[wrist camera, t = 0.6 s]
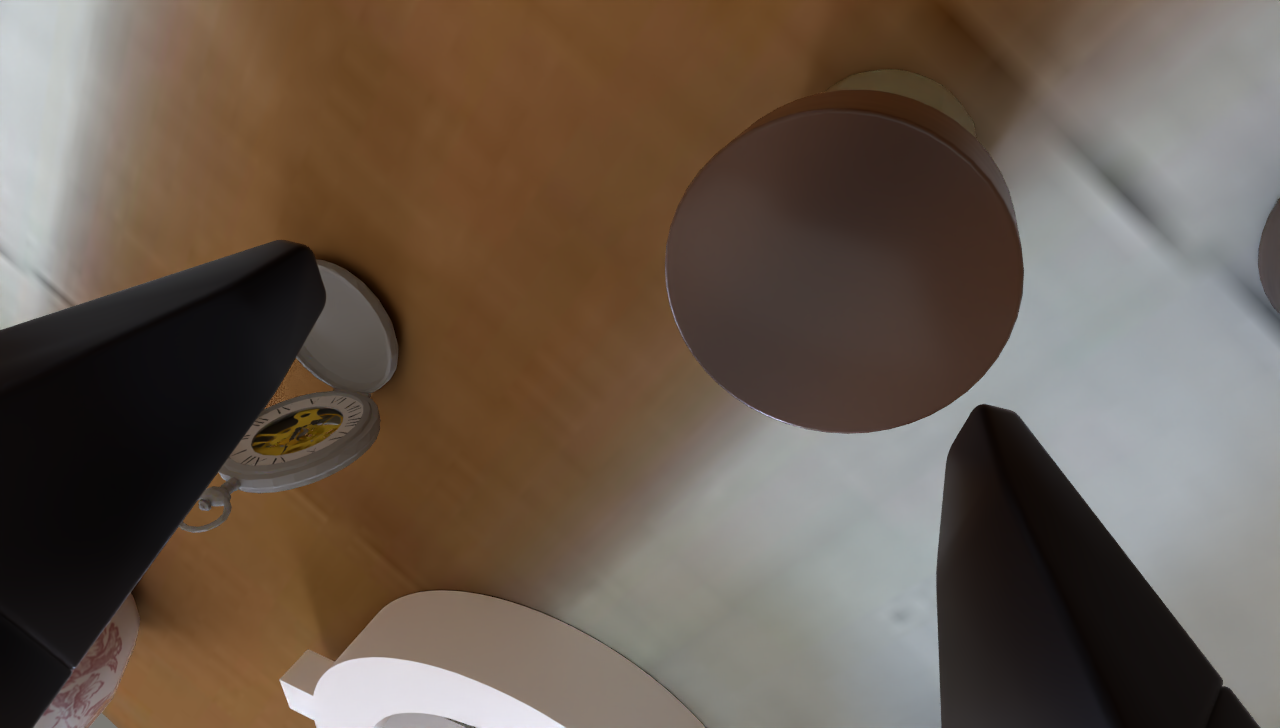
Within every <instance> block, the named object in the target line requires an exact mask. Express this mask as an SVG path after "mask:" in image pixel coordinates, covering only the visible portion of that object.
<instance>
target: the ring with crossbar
mask: <svg viewBox="0 0 1280 728" xmlns="http://www.w3.org/2000/svg"><path fill="white" fill-rule="evenodd" d="M279 680H280V682H281V685H282V688H283V691H284V693H285V696H286V699H287V701H288V704H289V707H290V708H291V709H293V710H295V711H297V712H299V713H301V714H303V715H305V716H307V717H309V718H311V719H313V720H315V724H316V728H465V727H463V726H461V725H459V724H457V723H454V722H452V721H450V720H448V719H446V718H449V719H453V720H456V721H459V722H463V723H465V724H468V725H471V726H474V727H476V728H705V727H704V725H703V724H702V723H701V722H700V721H699V720H698V719H697V718H696V717H695V716H694V715H693V714H692V713H691V712H690V711H689V710H688V709H687V708H686V707H685V706H684V705H683V704H682V703H681V702H680V701H679V700H678V699H677V698H676V697H675V696H673V695H672V694H671V693H670V692H669V691H668V690H667V689H666V688H664V687H663V686H662V685H661V684H659V683H658V682H657V681H656V680H655V679H653V678H652V677H651V676H650V675H648V674H647V673H646V672H644V671H643V670H641V669H640V668H639V667H637V666H636V665H635V664H633V663H632V662H630V661H629V660H627V659H626V658H625V657H623V656H622V655H620V654H619V653H617V652H615V651H614V650H612V649H611V648H609V647H608V646H606V645H604V644H603V643H601V642H599V641H598V640H596V639H594V638H592V637H591V636H589V635H587V634H585V633H583V632H581V631H579V630H578V629H576V628H574V627H572V626H570V625H568V624H566V623H563V622H561V621H559V620H557V619H555V618H553V617H550V616H548V615H545V614H543V613H541V612H538V611H536V610H533V609H530V608H528V607H525V606H522V605H519V604H516V603H513V602H510V601H506V600H502V599H499V598H495V597H491V596H486V595H481V594H476V593H469V592H462V591H446V590H437V591H425V592H418V593H413V594H409V595H406V596H403V597H400V598H398V599H396V600H394V601H392V602H391V603H389V604H388V605H386V606H385V607H384V608H383V609H381V610H380V611H379V612H378V614H377V615H376V616H375V617H374V618H373V619H372V620H371V622H370V623H369V624H368V625H367V626H366V627H365V628H364V629H363V631H362V632H361V633H360V634H359V635H358V636H357V637H356V638H355V640H354V641H353V642H352V643H351V644H350V645H349V646H348V647H347V649H346V650H345V651H344V652H343V653H342V654H341V655H340V656H339V658H338V659H337V660H336V661H333V660H330V659H328V658H326V657H324V656H322V655H320V654H318V653H315V652H313V651H311V650H309V649H308V650H307V651H306V652H305V653H304V654H303V655H302V656H301V657H300V658H299V659H298V660H297V661H296V662H295V663H294V665H293V666H292V667H291V668H290V669H289V670H288V671H287V672H286V673H285V674H284V675H283V676H282V677H281V678H280V679H279ZM444 717H445V718H444Z"/></svg>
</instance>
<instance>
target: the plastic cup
mask: <svg viewBox="0 0 1280 728" xmlns="http://www.w3.org/2000/svg"><path fill="white" fill-rule="evenodd" d="M838 90H874V91H882V92H890V93H893V94H897V95H901V96H905V97H908V98H912V99H915V100H917V101H919V102H922V103H924V104H926V105H929V106H931V107H934V108H935V109H937V110H939V111H940V112H942V113H944V114H945V115H947V116H949V117H950V118H952V119H954V120H955V121H956V122H958V123H959V124H960V125H961V126H962V127H964V128H965V129H966V130H967V131H968V132H970V133H971V134H972V135H973V136H974V137H975V138H976V139H977V137H976V131H975V126H974V122H973V120H972V119H971V118H970V116H969V115H968V113H967V112H966V110H965V109H964V107H963V106H962V104H961V103H960V102H959V101H958V100H957V98H956V97H955V96H954V95H953V94H952V93H951V92H949V91H948V90H947V89H946V88H945V87H944V86H943V85H940V84H939V83H937V82H935V81H934V80H932V79H930V78H927V77H925V76H922V75H920V74H917V73H913V72H909V71H903V70H899V69H898V70H895V69H884V70H874V71H867V72H863V73H860V74H853V75H850V76H849V77H847V78H845V79H844V80H841V81H839V82H838V83H836V84H834V85H833V86H831V87H829V88H828V89H827V90H825V91H824V92H831V91H838ZM824 92H822V93H824Z"/></svg>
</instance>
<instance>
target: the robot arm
mask: <svg viewBox="0 0 1280 728" xmlns="http://www.w3.org/2000/svg"><path fill="white" fill-rule="evenodd" d="M325 303H326V290H325V287H324V284H323V281H322V277H321V274H320V271H319V268H318V265H317V262H316V259H315V256H314V253H313V252H312V250H311V249H310V248H309V247H307V246H306V245H303V244H299V243H295V242H291V241H286V240H276V241H273V242H270V243H267V244H264V245H260V246H257V247H254V248H251V249H248V250H245V251H242V252H239V253H236V254H233V255H230V256H227V257H224V258H221V259H218V260H214V261H211V262H208V263H205V264H202V265H199V266H196V267H193V268H190V269H187V270H184V271H181V272H178V273H175V274H171V275H168V276H165V277H162V278H159V279H156V280H153V281H150V282H147V283H144V284H141V285H138V286H135V287H132V288H128V289H125V290H122V291H119V292H116V293H113V294H110V295H107V296H104V297H101V298H98V299H95V300H92V301H89V302H86V303H82V304H79V305H76V306H73V307H70V308H67V309H64V310H61V311H58V312H55V313H52V314H49V315H46V316H43V317H39V318H36V319H33V320H30V321H27V322H24V323H21V324H18V325H15V326H12V327H9V328H6V329H3V330H0V728H34V726H35V725H36V723H37V722H38V721H39V719H40V718H41V717H42V715H43V714H44V712H45V711H46V710H47V708H48V707H49V705H50V704H51V703H52V701H53V700H54V699H55V697H56V696H57V694H58V693H59V692H60V690H61V689H62V688H63V686H64V685H65V683H66V682H67V681H68V679H69V678H70V676H71V675H72V674H73V671H72V670H74V669H75V668H76V667H77V666H78V665H79V663H80V662H81V661H82V659H83V658H84V656H85V655H86V654H87V652H88V651H89V650H90V648H91V647H92V645H93V644H94V643H95V641H96V640H97V639H98V637H99V636H100V634H101V633H102V632H103V630H104V629H105V627H106V626H107V625H108V623H109V622H110V621H111V619H112V618H113V616H114V615H115V614H116V612H117V611H118V610H119V608H120V607H121V605H122V604H123V603H124V601H125V600H126V599H127V597H128V596H129V594H130V593H131V592H132V590H133V589H134V587H135V586H136V585H137V583H138V582H139V581H140V579H141V578H142V576H143V575H144V574H145V572H146V571H147V570H148V568H149V567H150V565H151V564H152V563H153V561H154V560H155V559H156V557H157V556H158V554H159V553H160V552H161V550H162V549H163V547H164V546H165V545H166V543H167V542H168V541H169V539H170V538H171V536H172V535H173V534H174V532H175V531H176V530H177V528H178V527H179V525H180V524H181V523H182V521H183V520H184V519H185V517H186V516H187V514H188V513H189V512H190V510H191V509H192V507H193V506H194V505H195V503H196V502H197V501H198V499H199V498H200V496H201V495H202V494H203V492H204V491H205V490H206V488H207V487H208V485H209V484H210V483H211V481H212V480H213V479H214V477H215V476H216V474H217V473H218V472H219V470H220V469H221V467H222V466H223V465H224V463H225V462H226V461H227V459H228V458H229V456H230V455H231V454H232V452H233V451H234V450H235V448H236V447H237V445H238V444H239V443H240V441H241V440H242V439H243V437H244V436H245V434H246V433H247V432H248V430H249V429H250V427H251V426H252V425H253V423H254V422H255V421H256V419H257V418H258V416H259V415H260V414H261V412H262V411H263V410H264V408H265V407H266V405H267V404H268V402H269V401H270V400H271V398H272V397H273V395H274V394H275V392H276V391H277V389H278V387H279V386H280V384H281V382H282V381H283V379H284V377H285V376H286V374H287V372H288V370H289V369H290V367H291V365H292V363H293V362H294V360H295V358H296V356H297V355H298V353H299V351H300V349H301V348H302V346H303V344H304V342H305V341H306V339H307V337H308V335H309V334H310V332H311V330H312V328H313V327H314V325H315V323H316V321H317V320H318V318H319V316H320V314H321V313H322V311H323V309H324V306H325ZM936 590H937V618H938V644H939V671H940V698H941V724H942V728H1260V726H1259V725H1258V724H1257V723H1256V721H1255V720H1254V719H1253V717H1252V716H1251V715H1250V714H1249V712H1248V711H1247V710H1246V708H1245V707H1244V706H1243V705H1242V703H1241V702H1240V701H1239V699H1238V698H1237V697H1236V695H1235V694H1234V693H1233V692H1232V690H1231V689H1230V688H1228V687H1225V686H1222V685H1223V680H1222V678H1221V677H1220V675H1219V674H1218V673H1217V671H1216V670H1215V669H1214V667H1213V666H1212V665H1211V664H1210V662H1209V661H1208V660H1207V658H1206V657H1205V656H1204V655H1203V653H1202V652H1201V651H1200V649H1199V648H1198V647H1197V646H1196V644H1195V643H1194V642H1193V640H1192V639H1191V638H1190V636H1189V635H1188V634H1187V633H1186V631H1185V630H1184V629H1183V627H1182V626H1181V625H1180V624H1179V622H1178V621H1177V620H1176V618H1175V617H1174V616H1173V614H1172V613H1171V612H1170V611H1169V609H1168V608H1167V607H1166V605H1165V604H1164V603H1163V602H1162V600H1161V599H1160V598H1159V596H1158V595H1157V594H1156V592H1155V591H1154V590H1153V589H1152V587H1151V586H1150V585H1149V583H1148V582H1147V581H1146V580H1145V578H1144V577H1143V576H1142V574H1141V573H1140V572H1139V571H1138V569H1137V568H1136V567H1135V565H1134V564H1133V563H1132V561H1131V560H1130V559H1129V558H1128V556H1127V555H1126V554H1125V552H1124V551H1123V550H1122V549H1121V547H1120V546H1119V545H1118V543H1117V542H1116V541H1115V539H1114V538H1113V537H1112V536H1111V534H1110V533H1109V532H1108V530H1107V529H1106V528H1105V527H1104V525H1103V524H1102V523H1101V521H1100V520H1099V519H1098V518H1097V516H1096V515H1095V514H1094V512H1093V511H1092V510H1091V508H1090V507H1089V506H1088V505H1087V503H1086V502H1085V501H1084V499H1083V498H1082V497H1081V496H1080V494H1079V493H1078V492H1077V490H1076V489H1075V488H1074V486H1073V485H1072V484H1071V483H1070V481H1069V480H1068V479H1067V477H1066V476H1065V475H1064V474H1063V472H1062V471H1061V470H1060V468H1059V467H1058V466H1057V465H1056V463H1055V462H1054V461H1053V459H1052V458H1051V457H1050V455H1049V454H1048V453H1047V452H1046V450H1045V449H1044V448H1043V446H1042V445H1041V444H1040V443H1039V441H1038V440H1037V439H1036V437H1035V436H1034V435H1033V433H1032V432H1031V431H1030V430H1029V428H1028V427H1027V426H1026V424H1025V423H1024V422H1023V421H1022V419H1021V418H1020V417H1019V416H1018V415H1017V414H1016V413H1015V412H1013V411H1011V410H1007V409H1003V408H999V407H995V406H990V405H986V404H982V405H978V406H977V407H976V408H974V409H973V411H972V412H971V414H970V415H969V417H968V419H967V420H966V422H965V424H964V425H963V427H962V429H961V430H960V432H959V434H958V435H957V437H956V439H955V440H954V442H953V444H952V446H951V448H950V450H949V453H948V456H947V461H946V470H945V480H944V491H943V502H942V513H941V524H940V534H939V545H938V556H937V571H936Z"/></svg>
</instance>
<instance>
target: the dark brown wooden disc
mask: <svg viewBox="0 0 1280 728" xmlns="http://www.w3.org/2000/svg"><path fill="white" fill-rule="evenodd" d="M665 275H666V287H667V293H668V298H669V304H670V307H671V310H672V313H673V316H674V319H675V322H676V325H677V327H678V329H679V331H680V333H681V335H682V338H683V340H684V341H685V343H686V345H687V346H688V348H689V349H690V351H691V353H692V354H693V356H694V357H695V358H696V360H697V361H698V362H699V364H700V365H701V366H702V367H703V369H704V370H705V371H706V372H707V373H708V374H709V375H710V376H711V377H712V378H713V379H714V380H715V381H716V382H717V383H718V384H719V385H720V386H721V387H722V388H724V389H725V390H726V391H727V392H728V393H730V394H731V395H732V396H733V397H735V398H736V399H738V400H739V401H741V402H742V403H744V404H746V405H747V406H749V407H750V408H752V409H754V410H756V411H758V412H760V413H762V414H764V415H766V416H768V417H770V418H773V419H776V420H778V421H781V422H783V423H786V424H789V425H793V426H797V427H800V428H804V429H809V430H815V431H821V432H828V433H846V434H850V433H869V432H875V431H881V430H887V429H892V428H896V427H899V426H903V425H906V424H910V423H912V422H915V421H917V420H920V419H922V418H925V417H927V416H930V415H932V414H933V413H935V412H937V411H939V410H941V409H942V408H944V407H946V406H948V405H949V404H951V403H952V402H954V401H955V400H956V399H958V398H959V397H960V396H962V395H963V394H964V393H966V392H967V391H968V390H969V389H970V388H971V387H972V386H974V385H975V384H976V383H977V382H978V381H979V380H980V379H981V378H982V377H983V376H984V375H985V374H986V372H987V371H988V370H989V368H990V367H991V366H992V365H993V363H994V362H995V361H996V360H997V358H998V357H999V355H1000V353H1001V352H1002V350H1003V348H1004V346H1005V345H1006V343H1007V341H1008V339H1009V337H1010V335H1011V332H1012V330H1013V327H1014V325H1015V322H1016V320H1017V317H1018V312H1019V308H1020V303H1021V299H1022V294H1023V277H1024V267H1023V257H1022V247H1021V242H1020V237H1019V231H1018V226H1017V221H1016V215H1015V211H1014V207H1013V203H1012V200H1011V196H1010V192H1009V190H1008V187H1007V185H1006V183H1005V181H1004V178H1003V176H1002V174H1001V172H1000V170H999V168H998V167H997V165H996V164H995V162H994V161H993V159H992V158H991V156H990V155H989V153H988V152H987V151H986V149H985V148H984V147H983V146H982V145H981V144H980V143H979V142H978V140H977V139H976V138H975V137H974V136H973V135H972V134H971V133H970V132H968V131H967V130H966V129H965V128H964V127H962V126H961V125H960V124H959V123H958V122H956V121H955V120H954V119H952V118H950V117H949V116H947V115H945V114H944V113H942V112H940V111H939V110H937V109H935V108H934V107H931V106H929V105H926V104H924V103H922V102H919V101H917V100H915V99H912V98H908V97H905V96H901V95H897V94H893V93H890V92H882V91H874V90H838V91H831V92H824V93H818V94H815V95H811V96H808V97H804V98H801V99H797V100H795V101H793V102H791V103H788V104H786V105H784V106H781V107H779V108H777V109H775V110H773V111H772V112H770V113H768V114H767V115H765V116H764V117H762V118H760V119H759V120H757V121H756V122H755V123H753V124H752V125H751V126H750V127H748V128H747V129H746V130H745V131H743V132H742V133H741V134H740V135H739V136H737V137H736V138H735V139H734V140H732V141H731V142H730V143H729V144H727V145H726V146H725V147H724V148H723V149H721V150H720V151H719V152H718V153H716V154H715V155H714V156H713V157H712V158H711V159H710V160H709V162H708V163H707V164H706V165H705V166H704V167H703V168H702V169H701V170H700V171H699V173H698V174H697V175H696V177H695V178H694V180H693V181H692V182H691V184H690V185H689V186H688V188H687V190H686V192H685V193H684V195H683V197H682V199H681V201H680V203H679V205H678V207H677V210H676V212H675V215H674V218H673V221H672V223H671V226H670V231H669V236H668V240H667V245H666V258H665Z"/></svg>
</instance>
